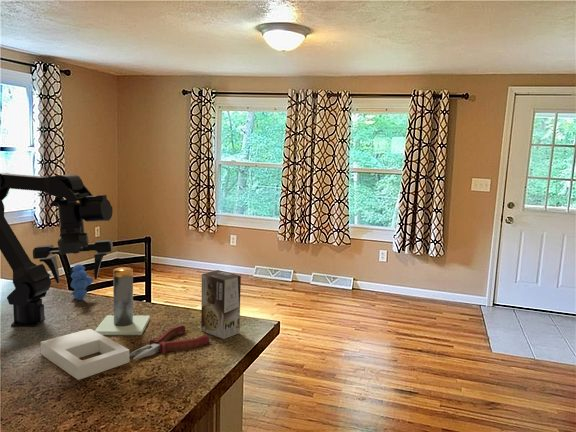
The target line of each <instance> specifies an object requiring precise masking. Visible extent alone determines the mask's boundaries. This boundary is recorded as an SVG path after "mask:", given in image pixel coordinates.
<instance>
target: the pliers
mask: <svg viewBox="0 0 576 432" xmlns="http://www.w3.org/2000/svg"><path fill="white" fill-rule="evenodd" d="M185 332H186V326H185V325H179V326H175V327H172V328H169V329H168V330H166V331H165V332H164V333H163V334H162V335H161V336H159V338H158V339H157V338H156V339H155V338H152V339H150V340H149V342H148V343H149V344H147V345H145V346H142V347H139V348H137V349H135V350H133V351H132V352H129V357H132V360H133V361H134V360H138V359H142V358H147V357H150V356H153V355H154V356H155V354H156V353H162V355H165V354H166V352H172V351H180V350H190V349H194V348H195V349H196V348H199V347H201V346H204V345H206V344H208V343H209V341H210V337H209V335H207V334H202V335H200V336H198V337H195V338H189V339H179V340H172V341H171V340H170V341H169V339H171V338H173V337H174V336H179V335H181V334H183V333H185Z"/></svg>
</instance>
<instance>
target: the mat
mask: <svg viewBox="0 0 576 432" xmlns="http://www.w3.org/2000/svg"><path fill="white" fill-rule="evenodd" d="M150 320H151V315H133V323H132V324H131V325H128V326H115V325H114V314H113V315H111V314H110V315H108V314H107V315H106V316H105V317H104V318H103V319H102V321H101V322H100V324H99V325H97V327H96V328H95V330H94V331H96V332H97V333H99V334H101V335H103V336H142V335H143V334H144V332H145V329H146V328H147V327H148V324H149V322H150Z"/></svg>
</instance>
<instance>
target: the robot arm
mask: <svg viewBox="0 0 576 432" xmlns="http://www.w3.org/2000/svg"><path fill="white" fill-rule="evenodd" d="M10 190H21V191H24V190H25V191H35V192H43V193H45V194H47V195H49V196H53V197H55V198H54V200H52V201H51V202H50V203H49V206H50V207H57V208H58V209H57V210H58V218H59V220H58V221H59V237H58V240H57V246H55V245H54V244H44V245H43V244H42V245H41V244H40V245H38V246H35V247H34V248H33V249H32V259H33V260H37V259H39V262H40V263H41V262H43V263H44V264H45V265H46V266H47V267H48V268H49V270H50V272H51V274H52V275H53V278H54V280H55V282H56V284H60V272H59V265H58V260H57V255H61V256H64V255H67V254H75V255H76V254H78V253H83V252H93V251H95V254H93V255H94V267H93V268H94V269H93V270H94V271H93V274H94V275H93V276H94V280H97V279H98V275H99V272H100V267H101V263H102V261H103V259H104V256H105V257H106V256H107V255H109V253H110V252H113V249H114V248H113V247H114V246H113V241H112V240H111V239H102V240H96V241H95V242H94V243H90V242H89V236H88V233H87V232H86V231H85V224H84V221H85V222H87V223H88V222H94V223H95V222H105V221H106V222H109V221H110V220H111V219H112V216H113V206H112V205H111V204H112V203H111V201H110V200H108V197H107V196H108V195H107V194H99V195H93V194H92V193H91V191H90V190H89V188H87V186H86V185H85V184H84V182H83V180H82V178H81V177H80V175H77V174H73V173H72V174H62V175H61V174H60V175H49V176H42V175H41V176H40V175H27V174H18V173H17V174H16V173H15V174H14V173H10V172H0V252H1V253H2V256H3V257H4V259H5V260H6V262H7V264H8V265H9V267H10V269H11V270H12V284H13V286H14V290H13V291H12V292H10V293H9V294H8V295H7V296H6V299H7V301H8V305H11V306H12V307H13V308H12V309H13V311H12V312H13V322H12V323H10V326H11V327H37V326H38V325H39V324H40V323H41V322H42V321H43V320H45V318H46V316H45V304H43V298H45V297H46V295H47V292H48V291H49V290H50V288H51V284H52V280H51V278H50V277H52V276H51V274H50V273H49V272H48V271H47V269H46V267H45V265H44V264H43V263H41V264H35V263H34V262H33V261H32V260H31V258H30V257H29V255H28V254H27V252H26V251H25V248H24V247H23V246H22V244H21V242H20V241H19V239H18V237H17V236H16V234H15V232H14V230H13V229H12V227H11V226H10V224H9V222H8V221H7V219H6V218H5V205H4V202H3V200H4V199H6V197H8V195H9V192H10ZM78 201H79V202H78Z"/></svg>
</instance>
